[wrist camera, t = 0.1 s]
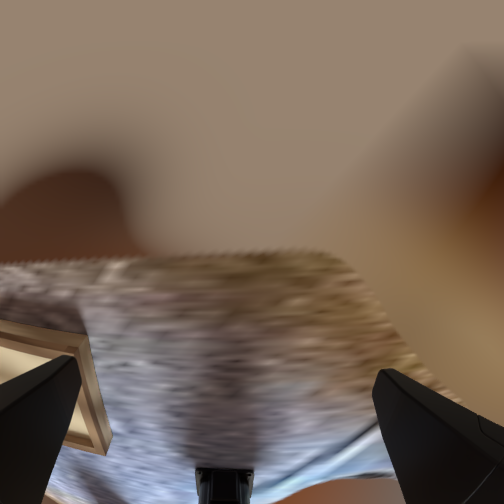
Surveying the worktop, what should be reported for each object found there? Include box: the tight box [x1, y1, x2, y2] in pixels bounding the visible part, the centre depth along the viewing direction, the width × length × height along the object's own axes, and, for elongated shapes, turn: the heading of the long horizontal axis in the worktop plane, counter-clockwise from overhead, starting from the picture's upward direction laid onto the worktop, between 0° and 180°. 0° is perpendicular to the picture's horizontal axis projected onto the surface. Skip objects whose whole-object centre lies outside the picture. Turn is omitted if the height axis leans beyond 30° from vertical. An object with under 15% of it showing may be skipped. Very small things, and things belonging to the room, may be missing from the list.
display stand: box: [0, 319, 113, 456], centre depth 24 cm, size 13×13×3 cm
